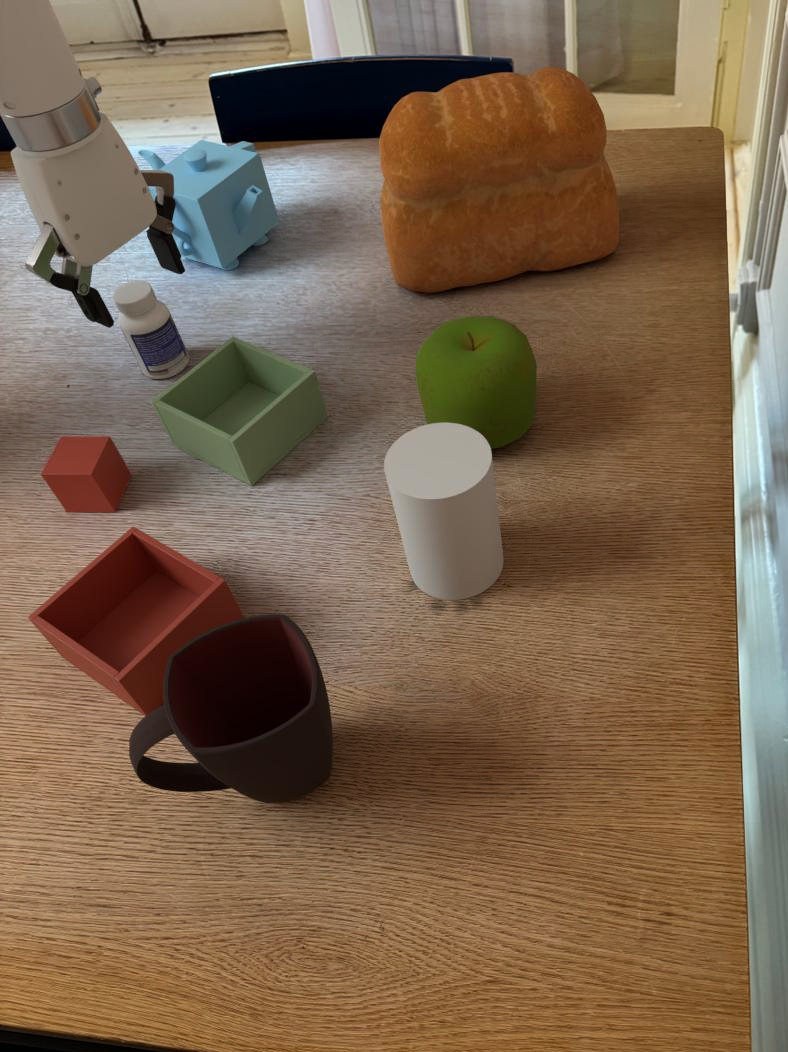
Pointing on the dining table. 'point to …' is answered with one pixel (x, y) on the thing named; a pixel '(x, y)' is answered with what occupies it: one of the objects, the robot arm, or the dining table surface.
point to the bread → (496, 180)
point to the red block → (87, 474)
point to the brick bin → (134, 615)
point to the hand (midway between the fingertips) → (139, 295)
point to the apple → (479, 377)
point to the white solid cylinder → (446, 509)
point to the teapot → (218, 201)
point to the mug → (242, 714)
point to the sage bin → (242, 409)
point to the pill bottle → (150, 330)
